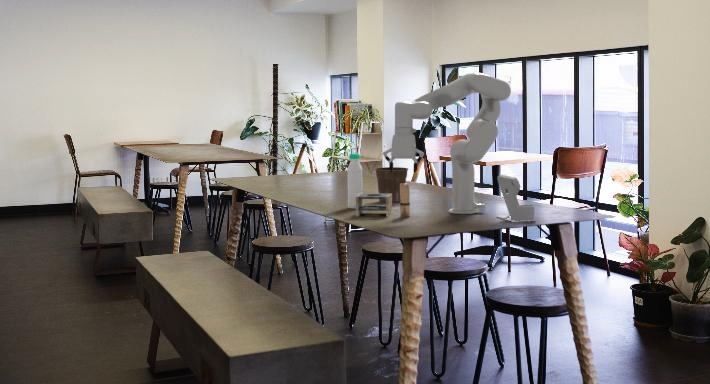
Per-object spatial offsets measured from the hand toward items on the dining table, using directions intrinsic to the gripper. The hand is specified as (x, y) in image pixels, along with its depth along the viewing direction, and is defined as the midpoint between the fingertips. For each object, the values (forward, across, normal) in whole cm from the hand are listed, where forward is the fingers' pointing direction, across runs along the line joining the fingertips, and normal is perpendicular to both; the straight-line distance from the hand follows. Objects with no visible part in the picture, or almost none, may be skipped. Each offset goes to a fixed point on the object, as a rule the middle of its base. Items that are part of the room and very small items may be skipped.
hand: (403, 172), depth 352 cm
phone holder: (+18, -47, +5) cm, 50 cm away
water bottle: (+19, +25, -28) cm, 43 cm away
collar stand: (+19, +13, -6) cm, 24 cm away
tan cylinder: (+19, -1, 0) cm, 19 cm away
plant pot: (+19, +11, -52) cm, 57 cm away
